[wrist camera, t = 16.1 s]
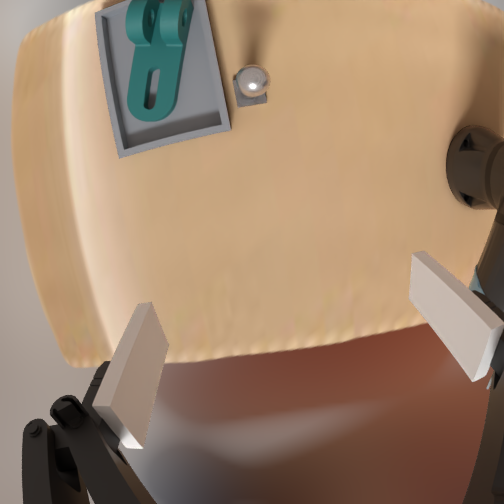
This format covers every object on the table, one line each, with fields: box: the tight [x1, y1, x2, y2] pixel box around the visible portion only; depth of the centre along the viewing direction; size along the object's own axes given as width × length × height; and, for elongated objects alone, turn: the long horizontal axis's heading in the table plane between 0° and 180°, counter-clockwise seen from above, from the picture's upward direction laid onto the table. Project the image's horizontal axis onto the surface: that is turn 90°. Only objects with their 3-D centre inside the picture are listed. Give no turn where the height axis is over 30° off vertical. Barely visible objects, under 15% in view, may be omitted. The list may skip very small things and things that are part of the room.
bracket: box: [125, 0, 194, 122], centre depth 32 cm, size 18×7×8 cm, turn 172°
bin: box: [95, 0, 231, 159], centre depth 35 cm, size 16×24×2 cm, turn 10°
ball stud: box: [233, 64, 270, 108], centre depth 33 cm, size 4×4×13 cm
